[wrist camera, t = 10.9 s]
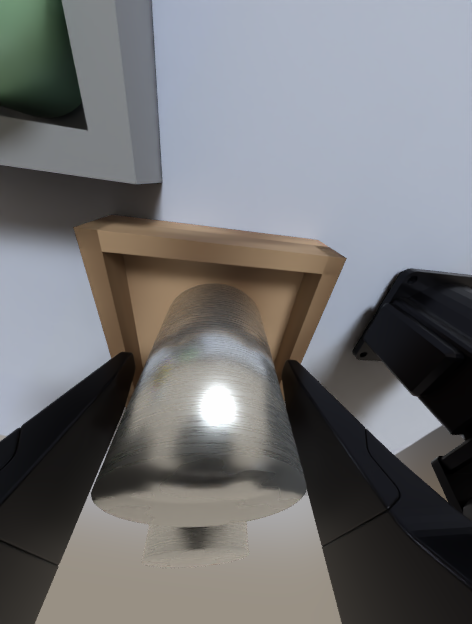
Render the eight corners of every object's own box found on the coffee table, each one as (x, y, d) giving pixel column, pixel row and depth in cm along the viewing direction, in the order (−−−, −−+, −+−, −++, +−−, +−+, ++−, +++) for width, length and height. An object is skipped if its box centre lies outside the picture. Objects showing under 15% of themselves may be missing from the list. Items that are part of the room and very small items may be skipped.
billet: (270, 288, 10) (341, 455, 4) (252, 361, 12) (278, 523, 7) (163, 278, 9) (55, 454, 3) (168, 356, 12) (115, 529, 6)
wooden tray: (317, 239, 10) (346, 258, 8) (253, 430, 20) (257, 463, 17) (111, 214, 9) (73, 227, 6) (152, 430, 18) (142, 465, 16)
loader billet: (242, 396, 14) (257, 544, 9) (234, 432, 17) (240, 563, 11) (170, 395, 14) (134, 553, 8) (173, 432, 17) (147, 570, 11)
